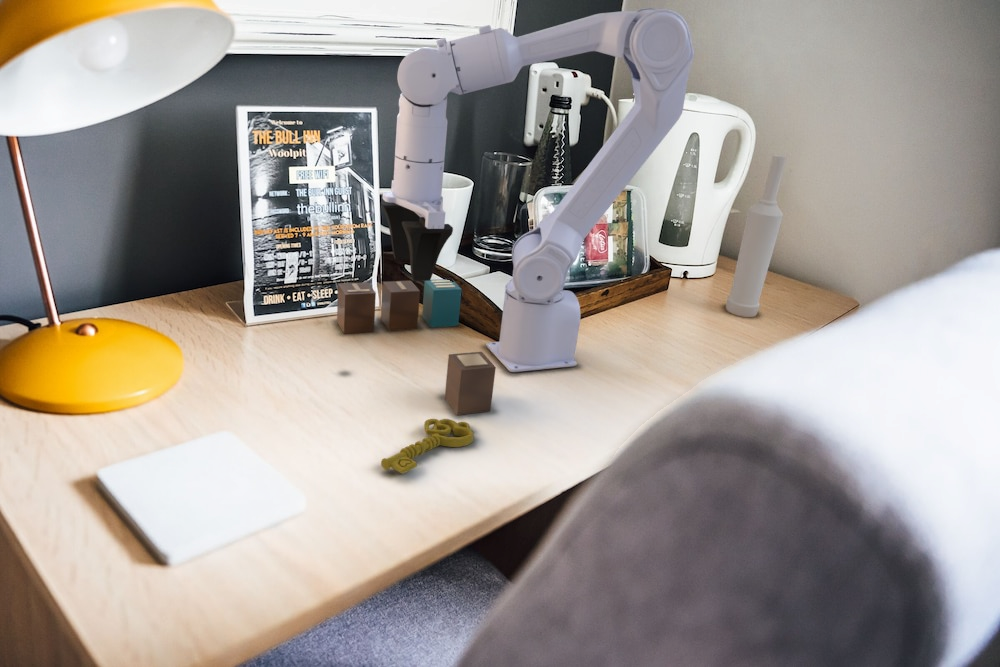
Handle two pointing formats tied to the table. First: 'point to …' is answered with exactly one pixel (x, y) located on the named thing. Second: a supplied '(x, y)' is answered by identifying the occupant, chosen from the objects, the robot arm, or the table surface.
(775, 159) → the bottle
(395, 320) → the tile
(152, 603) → the table surface
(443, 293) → the teal rectangular block
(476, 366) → the brown tall block
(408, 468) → the key
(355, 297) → the tile
